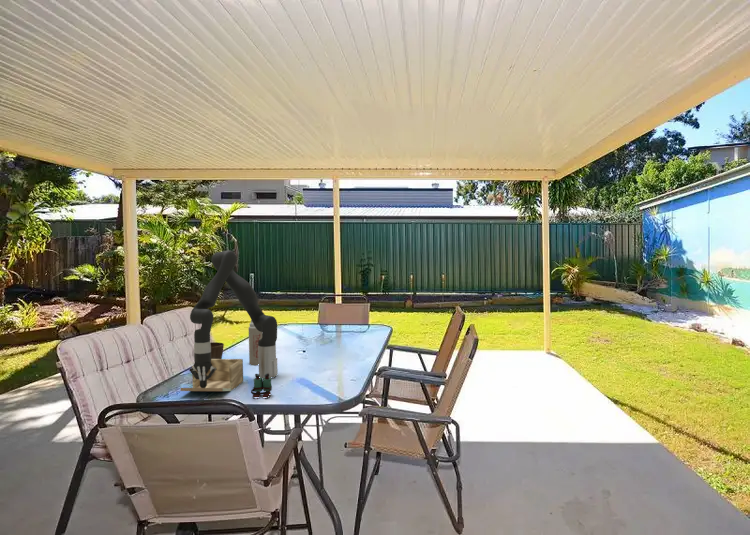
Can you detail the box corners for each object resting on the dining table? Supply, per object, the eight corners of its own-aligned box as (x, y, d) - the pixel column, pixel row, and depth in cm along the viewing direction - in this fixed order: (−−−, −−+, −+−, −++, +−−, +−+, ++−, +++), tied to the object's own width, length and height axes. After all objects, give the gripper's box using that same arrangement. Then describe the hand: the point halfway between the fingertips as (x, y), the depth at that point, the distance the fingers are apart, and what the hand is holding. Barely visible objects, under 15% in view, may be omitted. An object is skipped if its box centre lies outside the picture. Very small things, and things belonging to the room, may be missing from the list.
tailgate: (231, 388, 245) (222, 388, 233) (231, 391, 245) (222, 391, 233) (191, 388, 246) (180, 387, 235) (191, 391, 246) (180, 390, 235)
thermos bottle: (263, 364, 299) (262, 317, 298) (249, 365, 297) (248, 318, 296) (262, 361, 307) (261, 316, 306) (249, 362, 305) (248, 316, 304)
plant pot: (214, 368, 292) (214, 341, 292) (230, 372, 283) (229, 344, 282) (191, 373, 281) (190, 345, 280) (206, 377, 271) (205, 348, 271)
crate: (243, 381, 262) (242, 359, 261) (232, 390, 246) (231, 366, 246) (206, 381, 263) (205, 359, 263) (192, 390, 248) (192, 366, 247)
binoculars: (249, 380, 228) (253, 372, 238) (250, 402, 230) (254, 393, 240) (269, 379, 229) (272, 371, 239) (270, 401, 230) (273, 393, 240)
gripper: (219, 349, 240) (220, 385, 240) (192, 349, 241) (193, 385, 241) (213, 353, 232) (213, 390, 233) (185, 352, 233) (186, 389, 234)
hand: (203, 387), depth 237 cm, fingers closed
